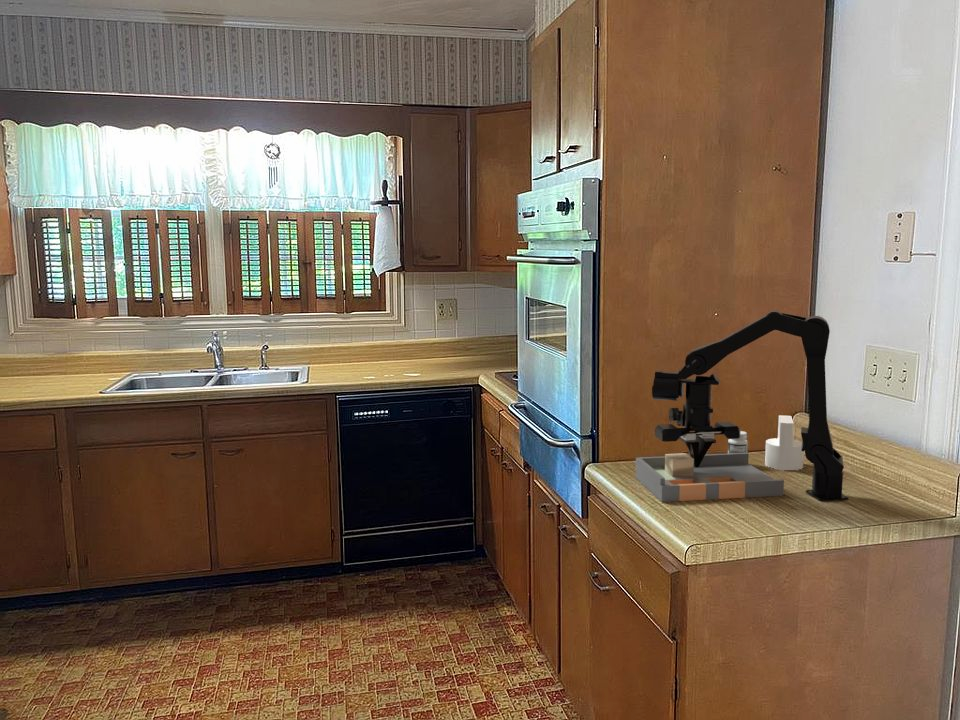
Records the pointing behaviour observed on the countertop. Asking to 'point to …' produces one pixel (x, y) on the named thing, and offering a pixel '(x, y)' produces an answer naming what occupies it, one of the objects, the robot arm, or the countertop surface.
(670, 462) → the birch block
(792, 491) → the countertop surface
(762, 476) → the grey tray
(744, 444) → the pill bottle
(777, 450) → the base with upright slab
